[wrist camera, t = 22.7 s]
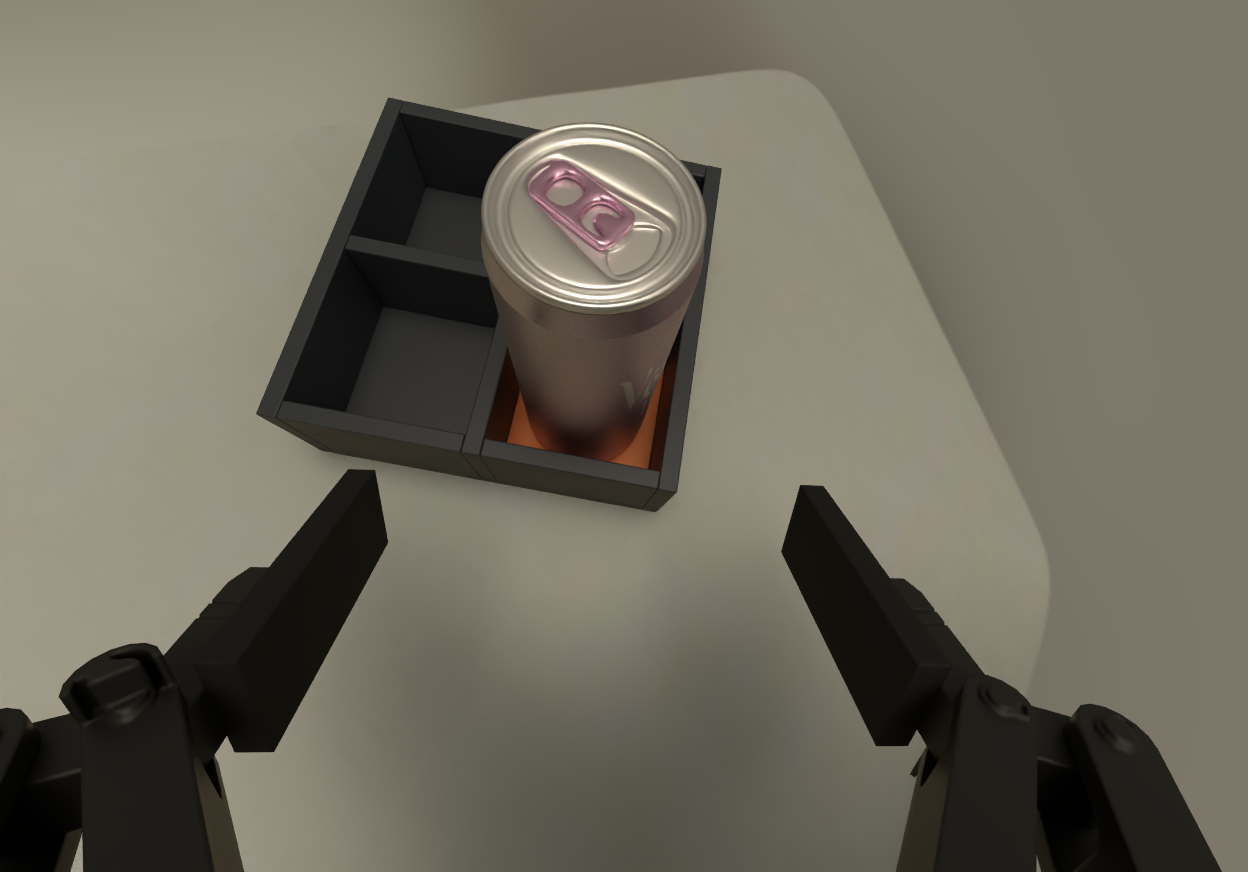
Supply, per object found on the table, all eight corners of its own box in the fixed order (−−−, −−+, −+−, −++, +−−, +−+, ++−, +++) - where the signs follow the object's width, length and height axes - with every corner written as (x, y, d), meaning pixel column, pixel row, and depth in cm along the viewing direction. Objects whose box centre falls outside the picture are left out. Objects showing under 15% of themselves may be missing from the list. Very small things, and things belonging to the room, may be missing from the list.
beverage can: (580, 340, 28) (584, 79, 14) (663, 407, 27) (761, 207, 13) (504, 416, 26) (418, 209, 12) (591, 490, 26) (610, 365, 11)
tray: (697, 239, 32) (721, 168, 26) (656, 512, 26) (677, 492, 21) (419, 181, 31) (388, 96, 26) (321, 450, 26) (255, 414, 20)
